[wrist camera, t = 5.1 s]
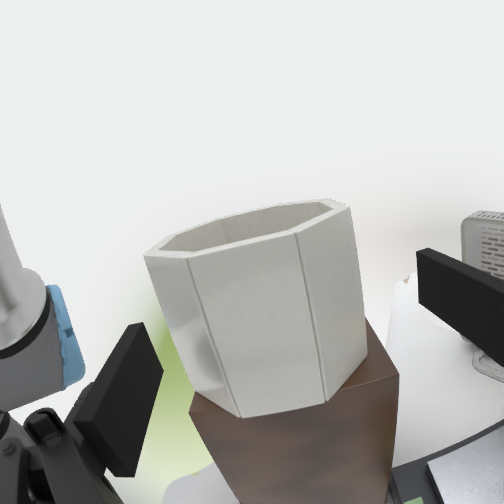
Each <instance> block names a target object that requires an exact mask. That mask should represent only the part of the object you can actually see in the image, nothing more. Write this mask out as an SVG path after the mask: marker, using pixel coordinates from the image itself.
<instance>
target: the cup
mask: <svg viewBox="0 0 504 504" xmlns="http://www.w3.org/2000/svg"><path fill="white" fill-rule="evenodd" d="M144 259H145V262H146V265H147V268H148V271H149V274H150V278H151V280H152V283H153V286H154V289H155V292H156V295H157V298H158V301H159V304H160V306H161V309H162V312H163V315H164V317H165V320H166V323H167V325H168V328H169V331H170V333H171V335H172V338H173V341H174V343H175V346H176V349H177V351H178V353H179V356H180V358H181V361H182V363H183V366H184V368H185V370H186V373H187V375H188V378H189V380H190V382H191V384H192V387H193V389H194V390H195V391H196V392H198V393H199V394H201V395H202V396H204V397H206V398H207V399H209V400H210V401H212V402H213V403H215V404H217V405H218V406H220V407H222V408H223V409H225V410H227V411H228V412H230V413H232V414H233V415H235V416H237V417H238V418H239V417H242V418H249V417H255V416H262V415H268V414H274V413H279V412H285V411H290V410H295V409H300V408H305V407H309V406H314V405H318V404H323V403H325V401H329V399H330V398H331V397H332V396H333V395H334V394H335V393H336V392H337V391H338V390H339V388H340V387H341V386H342V385H343V384H344V383H345V382H346V380H347V379H348V378H349V377H350V376H351V375H352V373H353V372H354V371H355V370H356V369H357V368H358V366H359V365H360V364H361V363H362V361H363V360H364V359H365V358H366V357H367V353H368V350H367V336H366V324H365V313H364V303H363V294H362V285H361V278H360V270H359V262H358V255H357V248H356V242H355V235H354V229H353V223H352V218H351V211H350V207H349V206H348V205H345V204H342V203H340V202H337V201H335V200H332V199H317V200H308V201H299V202H289V203H280V204H275V205H271V206H267V207H262V208H257V209H254V210H249V211H245V212H241V213H237V214H232V215H228V216H224V217H220V218H216V219H214V220H211V221H208V222H205V223H202V224H200V225H197V226H194V227H191V228H189V229H186V230H183V231H180V232H178V233H175V234H172V235H170V236H167V237H166V238H164V239H163V240H162V241H160V242H159V243H158V244H156V245H155V246H154V247H152V248H151V249H150V250H148V251H147V252H146V253H145V254H144Z"/></svg>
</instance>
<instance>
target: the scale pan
mask: <svg viewBox="0 0 504 504" xmlns="http://www.w3.org/2000/svg"><path fill="white" fill-rule="evenodd" d="M425 468H426V470H427V473H428V475H429V477H430V480H431V482H432V485H433V487H434V490H435V492H436V494H437V497H438V500H439V502H440V504H504V425H503V426H501V427H500V428H498V429H496V430H494V431H493V432H491V433H489V434H487V435H485V436H483V437H481V438H479V439H477V440H475V441H474V442H471V443H469V444H467V445H465V446H463V447H461V448H459V449H457V450H455V451H452V452H450V453H448V454H446V455H443V456H441V457H438V458H436V459H434V460H431V461H429V462H427V464H426V467H425Z"/></svg>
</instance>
